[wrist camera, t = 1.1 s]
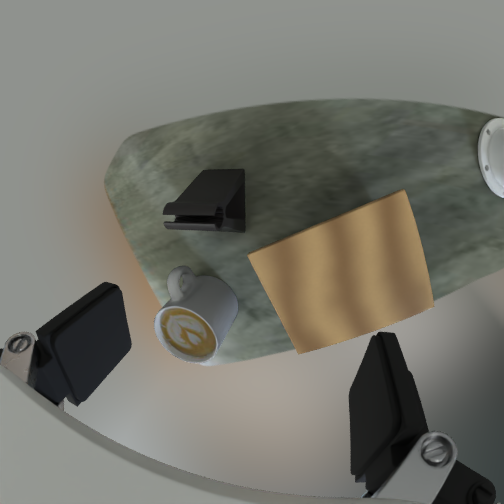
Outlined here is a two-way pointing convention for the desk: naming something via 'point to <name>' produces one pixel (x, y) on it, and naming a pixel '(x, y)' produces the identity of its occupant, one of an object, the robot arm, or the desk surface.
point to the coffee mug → (195, 316)
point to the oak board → (347, 274)
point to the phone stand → (211, 203)
